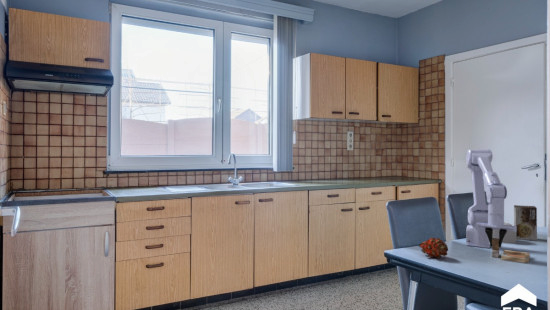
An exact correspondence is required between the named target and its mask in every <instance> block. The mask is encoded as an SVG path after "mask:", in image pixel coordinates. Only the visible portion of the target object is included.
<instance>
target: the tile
mask: <svg viewBox="0 0 550 310" xmlns="http://www.w3.org/2000/svg"><path fill="white" fill-rule="evenodd" d="M506 256H512V257H520V258H525V256H519V255H511V254H507V255H506Z"/></svg>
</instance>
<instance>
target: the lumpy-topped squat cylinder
mask: <svg viewBox="0 0 550 310" xmlns="http://www.w3.org/2000/svg"><path fill="white" fill-rule="evenodd" d="M504 225H510V226H513V224H511V223H509V222H504ZM491 228H492V227H491ZM499 231H500V230H497V229H493V236H492V238H499ZM516 243H517V239H516V232H514V231H507V232H506V234H505V236H504V238H503V241H502V244H516Z"/></svg>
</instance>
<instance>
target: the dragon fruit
mask: <svg viewBox="0 0 550 310" xmlns="http://www.w3.org/2000/svg"><path fill="white" fill-rule="evenodd" d="M418 247H419V248H420V249H421V253H423V254H425V255H428V256H429V258H430V257H431V258H434V257H435V258H436V259H441V257H442V256H443V257H446V256H448V251H449V248H448V245H447V243H446V242H445V241H443V240H442V239H441V238H439V237H436V238H435V237H429V239H427V240H425V241H423V242H421V243H419V245H418Z"/></svg>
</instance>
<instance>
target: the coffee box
mask: <svg viewBox="0 0 550 310" xmlns="http://www.w3.org/2000/svg"><path fill="white" fill-rule="evenodd" d="M537 210H538V208H537V207H536V206H535V205H518V204H515V205H513V226H517V231H516V240H523V241H538V231H537V230H538V216H537V215H538V214H537V213H538V211H537Z"/></svg>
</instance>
